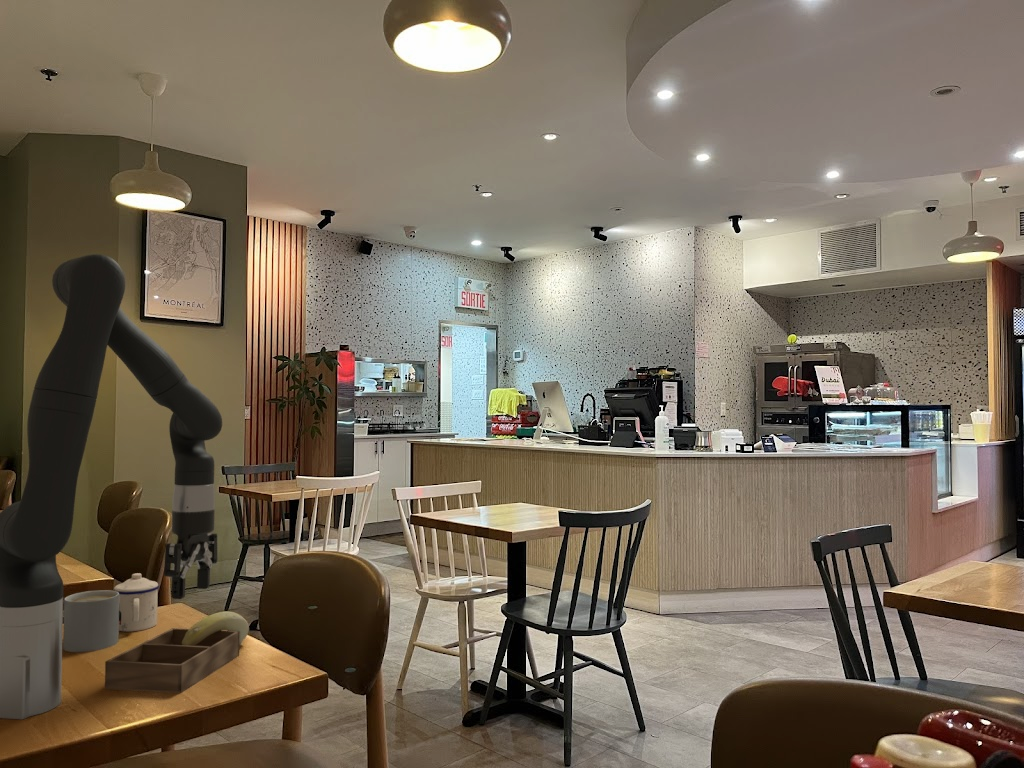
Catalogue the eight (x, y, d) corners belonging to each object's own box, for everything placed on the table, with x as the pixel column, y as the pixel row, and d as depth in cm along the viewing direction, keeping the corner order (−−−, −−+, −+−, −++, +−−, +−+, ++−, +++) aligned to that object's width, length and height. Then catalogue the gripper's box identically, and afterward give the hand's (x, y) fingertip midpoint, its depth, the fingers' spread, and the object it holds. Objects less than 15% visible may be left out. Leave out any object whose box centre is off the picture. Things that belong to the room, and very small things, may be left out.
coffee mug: (121, 646, 154) (122, 597, 154) (65, 655, 148) (66, 604, 149) (112, 630, 165) (113, 584, 165) (59, 638, 159) (60, 591, 160)
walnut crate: (181, 695, 128) (181, 665, 128) (104, 690, 130) (105, 661, 130) (239, 657, 148) (239, 631, 148) (171, 653, 150) (172, 628, 150)
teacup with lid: (113, 623, 170) (114, 571, 171) (157, 618, 174) (158, 568, 175) (111, 638, 160) (112, 583, 160) (158, 632, 164) (159, 578, 164)
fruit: (190, 607, 144) (201, 613, 142) (250, 610, 156) (260, 615, 155) (176, 645, 143) (187, 651, 141) (238, 644, 155) (248, 650, 154)
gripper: (191, 513, 137) (188, 603, 136) (230, 504, 151) (228, 585, 150) (152, 511, 138) (150, 601, 137) (196, 503, 152) (193, 584, 151)
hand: (191, 593), depth 144 cm, fingers open, 8 cm apart
